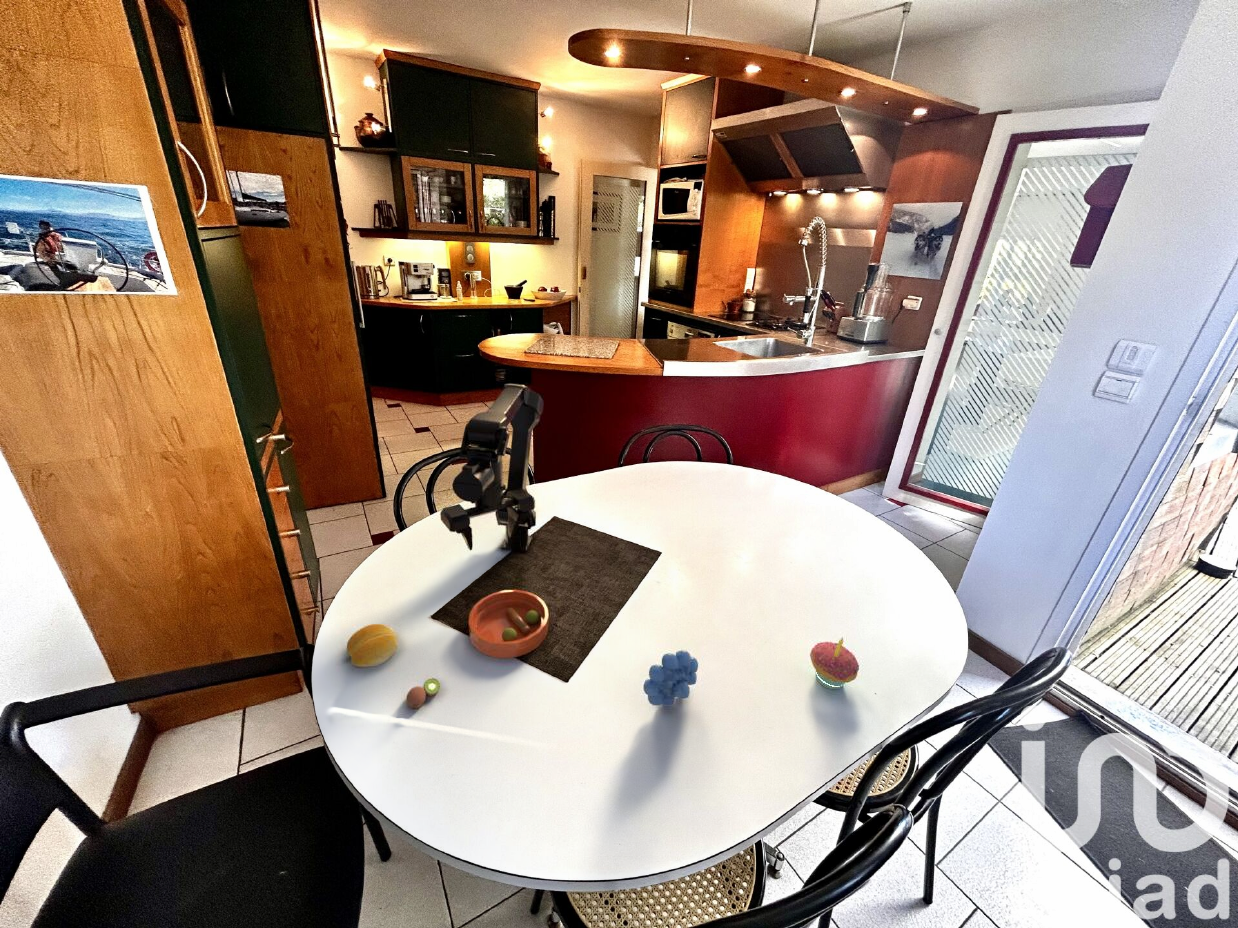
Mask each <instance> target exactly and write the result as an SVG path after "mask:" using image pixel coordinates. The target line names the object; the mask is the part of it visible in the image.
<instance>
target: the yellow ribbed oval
mask: <svg viewBox="0 0 1238 928" xmlns="http://www.w3.org/2000/svg"><path fill="white" fill-rule="evenodd" d="M398 645H399V639H398V636H397V634H396V633H395V632H394V630H393V629H392V628H391V627H389V626H388V625H385V624H382V623H372V624H369V625H366V626H364V627H361V628H359V629H358V630H357V631H355V632H354V633H352V635H351V636H350V637H349V639H348V641H347V643H346V651H347V654H348V655H349V656H350V658H351V659H350V662H351V663H352V665H353V666H355V667H358V668H359V667H360V668H365V667H366V668H367V667H378V666H379V665H381V664H384V663H385V662H387V661H388V660H389V659H390V658H392V656H393V655H394V654H395V653H396V651H397V649H398Z"/></svg>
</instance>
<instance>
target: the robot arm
mask: <svg viewBox="0 0 1238 928" xmlns="http://www.w3.org/2000/svg"><path fill="white" fill-rule="evenodd" d="M543 411H544V399H543V398H542V396H541V394H539V393H537V392H535V391H533V390H531V389H530V387H528V386H526V385H525V384H519V383H510V382H509V383H504V385H503V388H502V392H501V393H500V394H499V395H498V397H497V398H496V399H495V401H494V402H493V403H492V405H490V407H489V408H488V410H486V411H483V412H482V411H481V412H478V413H476V414H475V415H473V417H471V418H470V419H469V420H468V422H467V423H466V424H465V426H464V430H463V435H462V440H461V445H460V450H459V454H458V458H459V459H464V460H465V459H466V463H465V464H463V466H461V471H460V472H459V473H458V474H456V476H455V477H454V479H453V481H452V483H451V484H452V485H451V487H452V491H453V493H454V494H455V495H456V497H458V499H460V500H461V501H462V500H463V501H464V502H468V503H471V504H473V505H474V506H473V507H469V508H466V509H465V508H464V507H463V506H462V505H461V503H457V504H455V505H450V506H447V507H443V508H442V509H441V511H440V512H439V515H440V516H439V517H440V521H441V522H442V523H443V525H444V526H445V527H446V528H447V530H448V531H449V532H451V533H456V534H459V535H460V534H461V536H462V539H463V540H464V543H465V544H466V546H467V548H468V550H469V551H473V543H474V542H473V528H472V527H471V519H474V518H478V517H482V516H486V515H489V514H492V513H495V519H496V522H497V523H496V524H497V526H504V527H505V538H504V541H503V542H502V544H501V545H500V548H501V549H504V550H512V551H519V552H526V551H527V550H528V548H529V546H530V544H531V542H532V540H533V536H532V535H529V530H531V529H532V528H533V527H536V525H537V520H536V519H537V511H536V510H535V508H536V500H535V497H534V496H533V495H532V494H530V493H529V492H528V489H527V481H528V474H529V473H528V472H529V463H530V454H531V453H530V452H531V444H532V435H533V434H532V433H533V432H532V431H533V429H534V428H535V427H536V426H537V425H538V423H539V422H540V420H541V415H542V414H543ZM509 425H510V426H511V428H512V433H511V434H510V432H509V428H508V426H509ZM510 435H511V436H510ZM510 437H511V443H510V453H509V465H508V474H507V484H505V483H504V473H503V472H504V471H503V467H504V465H503V457H505V456H506V451H507V447H508V444H509V440H510ZM470 447H471V448H470ZM476 448H479V449H476Z"/></svg>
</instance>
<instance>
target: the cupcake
mask: <svg viewBox="0 0 1238 928" xmlns="http://www.w3.org/2000/svg"><path fill="white" fill-rule="evenodd" d="M843 644H844V638H843V637H841V638H839V640H838V643H837V642H832V641H823V642H818V643H817V644H815V645H814V646H813V647H812V648H811V650H810V653H809V657H810V661H811V663H812V666H813V668H814V669H815V670H816V671H815V673H816V672H817V674H818V676H819V677H820V678H821V679H822V680H823V681H825V682H826V683H828V684H830V685H834V686H840V687H832V686H829V685H827V684H825V683H823V682H822V681H821V680H820V679H819V678H818V677H817V675H816V674H815V678H816V680H817V681H818V682H819V684H820V685H822V686H823V687H824V688H826V689H829V690H838V689H840V688H842V686H844V685H845V684H846V683H847V684H849V683H850V682H852V681H854V680H856V679H857V677H858V674H859V673H858V672H859V670H860V665H859V662H858V660H857V658H856V655H854V654H853V652H852V651H850V650H849V649H848V648H846V647H844V646H843ZM841 685H842V686H841Z"/></svg>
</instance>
